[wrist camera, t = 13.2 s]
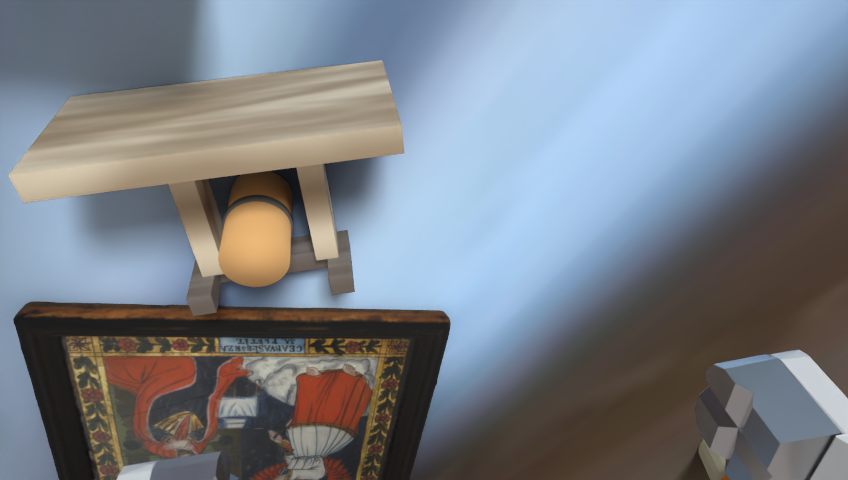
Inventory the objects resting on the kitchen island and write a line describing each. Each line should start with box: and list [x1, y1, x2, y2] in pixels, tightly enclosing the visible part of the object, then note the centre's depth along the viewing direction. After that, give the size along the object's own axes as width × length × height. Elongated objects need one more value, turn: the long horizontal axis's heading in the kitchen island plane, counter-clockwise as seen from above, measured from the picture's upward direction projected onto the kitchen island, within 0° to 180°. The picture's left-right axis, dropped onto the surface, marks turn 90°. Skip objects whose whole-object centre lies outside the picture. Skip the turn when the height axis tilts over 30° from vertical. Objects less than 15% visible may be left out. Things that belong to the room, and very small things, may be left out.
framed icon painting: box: [13, 302, 450, 480], centre depth 55 cm, size 38×35×3 cm
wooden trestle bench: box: [8, 60, 404, 316], centre depth 35 cm, size 14×18×9 cm
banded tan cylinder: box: [218, 171, 293, 287], centre depth 37 cm, size 4×4×7 cm
